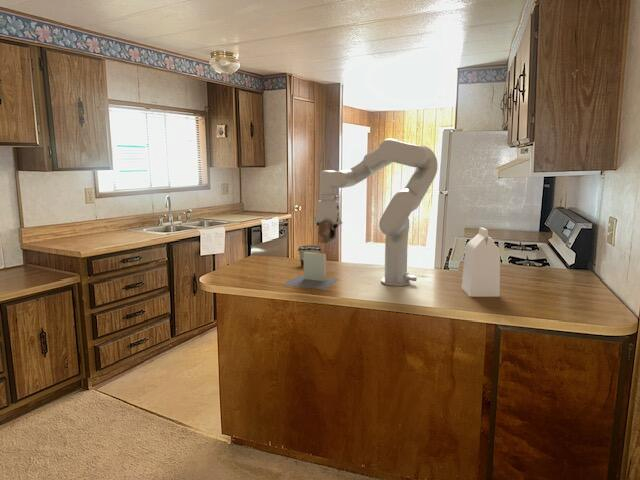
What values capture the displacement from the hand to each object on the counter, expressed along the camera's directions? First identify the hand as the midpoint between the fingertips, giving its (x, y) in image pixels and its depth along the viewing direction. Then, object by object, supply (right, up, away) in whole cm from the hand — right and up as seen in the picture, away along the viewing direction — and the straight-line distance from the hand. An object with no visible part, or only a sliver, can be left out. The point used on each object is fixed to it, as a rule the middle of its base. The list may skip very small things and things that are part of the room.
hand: (327, 237), depth 208 cm
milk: (+61, -23, -25) cm, 70 cm away
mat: (-7, -20, -11) cm, 24 cm away
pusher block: (0, -2, 0) cm, 2 cm away
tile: (-6, -19, -7) cm, 21 cm away
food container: (-8, -15, +22) cm, 28 cm away
